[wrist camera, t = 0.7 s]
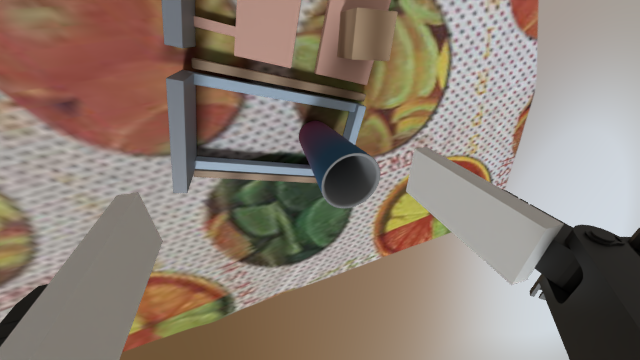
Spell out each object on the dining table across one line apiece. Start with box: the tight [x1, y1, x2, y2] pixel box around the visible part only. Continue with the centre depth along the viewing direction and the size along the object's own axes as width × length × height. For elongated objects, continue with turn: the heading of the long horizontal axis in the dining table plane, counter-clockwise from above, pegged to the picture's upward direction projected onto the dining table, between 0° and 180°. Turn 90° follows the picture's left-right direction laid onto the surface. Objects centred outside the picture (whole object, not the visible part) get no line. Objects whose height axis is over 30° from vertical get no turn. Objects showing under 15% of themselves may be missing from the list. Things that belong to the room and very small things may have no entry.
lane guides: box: [192, 58, 366, 183], centre depth 32 cm, size 23×30×2 cm
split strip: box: [162, 0, 391, 85], centre depth 26 cm, size 24×11×8 cm, turn 77°
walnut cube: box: [337, 8, 397, 61], centre depth 30 cm, size 5×5×5 cm
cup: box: [299, 121, 380, 208], centre depth 32 cm, size 7×7×15 cm
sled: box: [166, 70, 366, 193], centre depth 32 cm, size 24×12×8 cm, turn 77°
